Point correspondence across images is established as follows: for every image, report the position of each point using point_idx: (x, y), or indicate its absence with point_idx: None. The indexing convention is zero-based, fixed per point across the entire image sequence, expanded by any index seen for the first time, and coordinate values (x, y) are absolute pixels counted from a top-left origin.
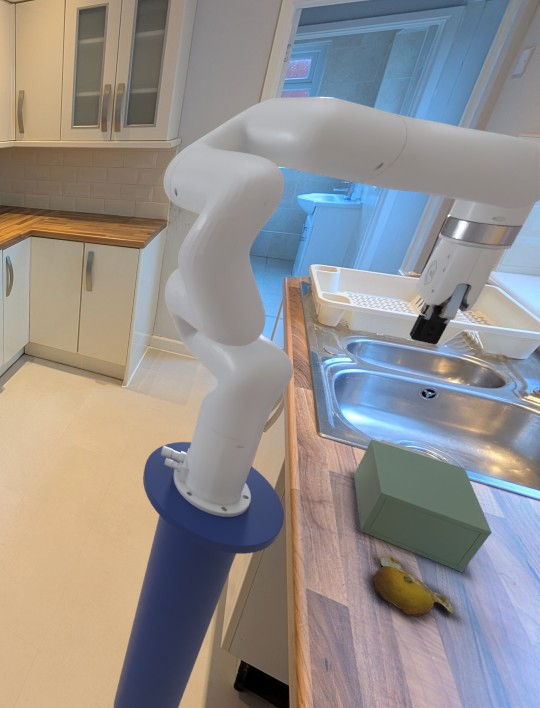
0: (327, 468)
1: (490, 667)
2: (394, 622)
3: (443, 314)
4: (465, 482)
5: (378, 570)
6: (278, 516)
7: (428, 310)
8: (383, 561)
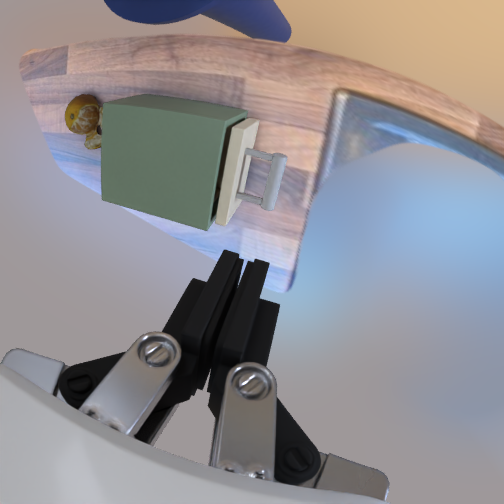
0: (249, 77)
1: (69, 158)
2: None
3: (12, 362)
4: (173, 215)
5: (85, 97)
6: (149, 18)
7: (130, 380)
8: None
